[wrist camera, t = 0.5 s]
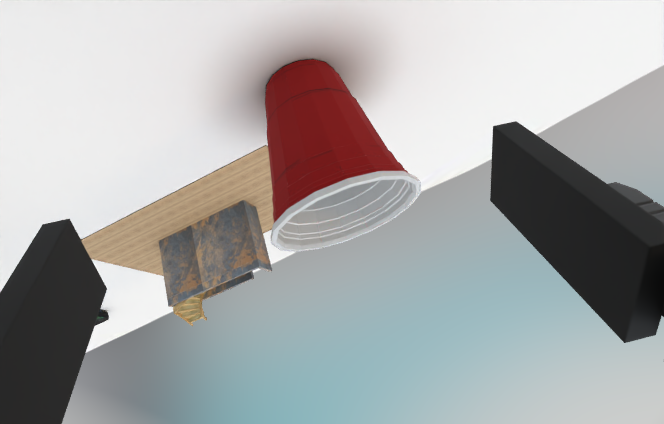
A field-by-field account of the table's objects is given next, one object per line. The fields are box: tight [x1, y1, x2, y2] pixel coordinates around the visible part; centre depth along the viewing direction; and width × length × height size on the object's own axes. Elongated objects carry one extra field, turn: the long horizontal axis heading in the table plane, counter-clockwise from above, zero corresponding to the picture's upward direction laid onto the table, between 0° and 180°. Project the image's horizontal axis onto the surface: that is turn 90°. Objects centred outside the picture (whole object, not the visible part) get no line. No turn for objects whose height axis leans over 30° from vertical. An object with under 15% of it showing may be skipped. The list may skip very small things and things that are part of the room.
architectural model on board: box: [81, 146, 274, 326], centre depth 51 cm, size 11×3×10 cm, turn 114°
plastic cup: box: [265, 59, 421, 252], centre depth 35 cm, size 11×11×12 cm
